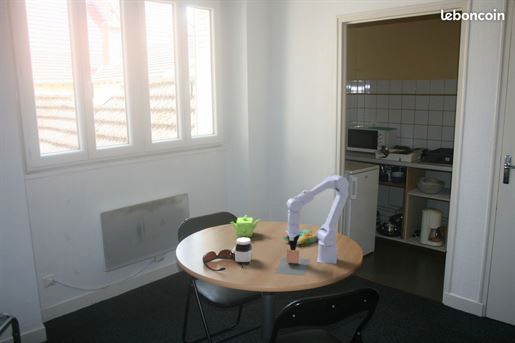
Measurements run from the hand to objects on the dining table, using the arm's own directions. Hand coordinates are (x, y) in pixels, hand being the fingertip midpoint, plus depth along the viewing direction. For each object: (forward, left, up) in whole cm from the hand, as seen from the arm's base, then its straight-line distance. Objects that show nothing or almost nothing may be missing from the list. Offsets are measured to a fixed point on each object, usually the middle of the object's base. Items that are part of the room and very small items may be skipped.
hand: (293, 249), depth 216 cm
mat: (0, +2, -8) cm, 8 cm away
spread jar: (+27, -1, -8) cm, 28 cm away
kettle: (+34, -39, -8) cm, 52 cm away
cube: (0, -2, -5) cm, 5 cm away
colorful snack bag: (0, -35, -8) cm, 35 cm away
